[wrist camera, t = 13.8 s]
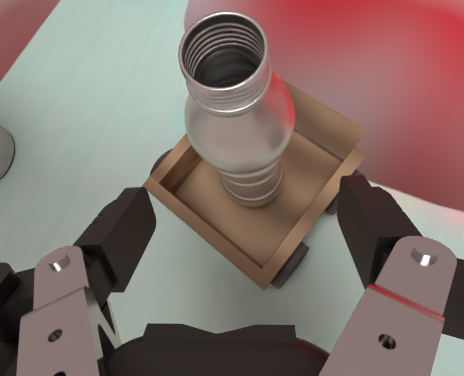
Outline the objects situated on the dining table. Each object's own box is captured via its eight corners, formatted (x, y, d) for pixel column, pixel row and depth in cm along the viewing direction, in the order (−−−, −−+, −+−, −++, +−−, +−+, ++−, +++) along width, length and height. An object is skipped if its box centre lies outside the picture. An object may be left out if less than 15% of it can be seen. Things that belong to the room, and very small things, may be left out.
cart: (260, 70, 35) (258, 33, 29) (383, 144, 30) (409, 118, 24) (158, 192, 33) (134, 179, 27) (274, 289, 28) (274, 299, 23)
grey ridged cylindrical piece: (267, 142, 31) (261, -45, 11) (294, 196, 29) (342, 81, 9) (215, 166, 31) (122, 21, 12) (239, 221, 29) (175, 157, 10)
